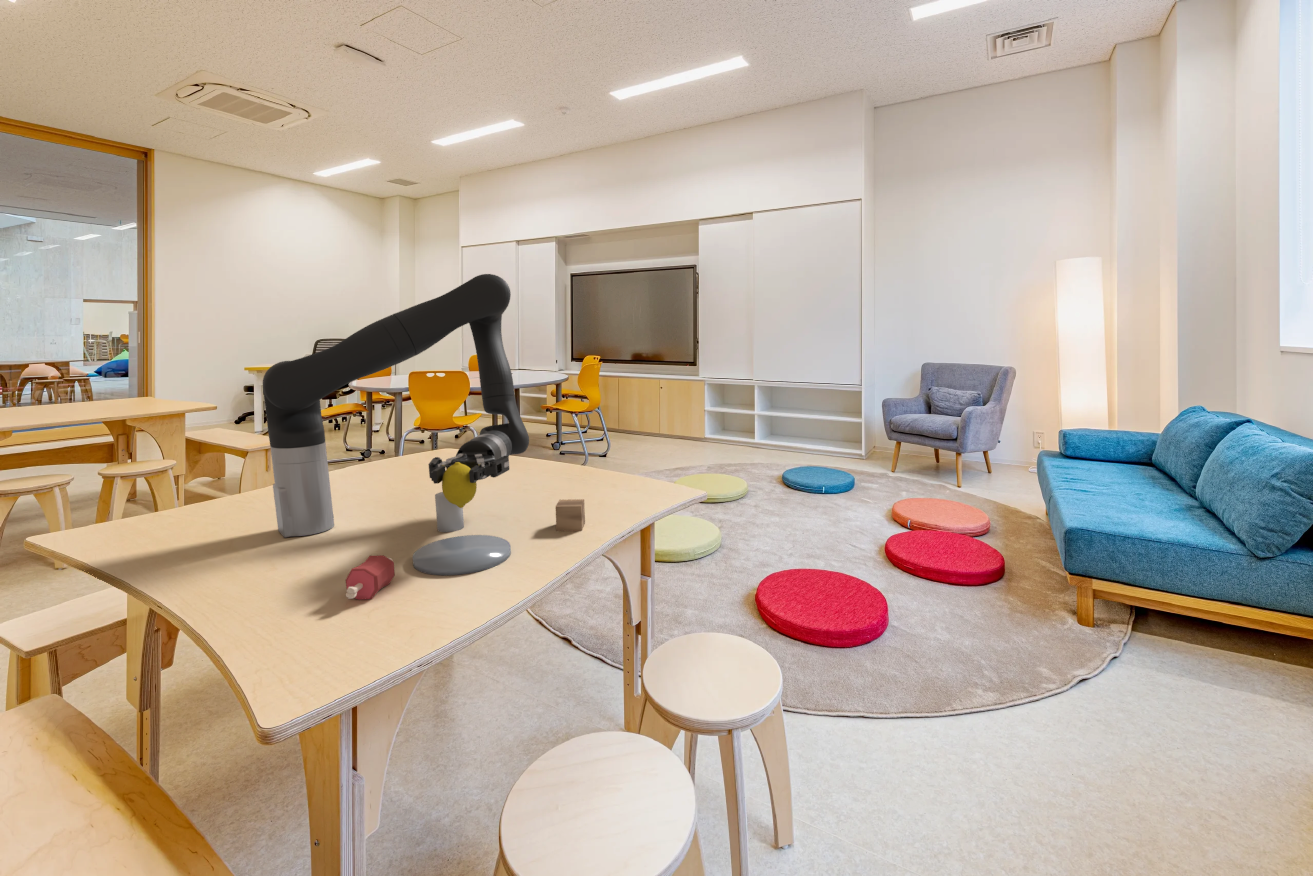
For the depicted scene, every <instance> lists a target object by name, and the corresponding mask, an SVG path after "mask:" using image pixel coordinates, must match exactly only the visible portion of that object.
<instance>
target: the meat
mask: <svg viewBox="0 0 1313 876" xmlns="http://www.w3.org/2000/svg"><path fill="white" fill-rule="evenodd" d="M395 575H396V573H395V563H394V560H393V558H391V557H387V556H385V555H384V554H383V555H380V554H379V555H378V554H377V555H369V556H368V557H367V558H366V560H365V561H364V562H362V563H361V564H360V565H358V566H356V567H352V568H351V570H350V571H349V573H348V575H347V577H346V578H345V586H346V587H345V588H346V593H345V597H346V598H347V599H348V600H351V599H356V600H359V601H360V600H373V599H374V597H375V595H376V594H377V593H378V592H379V591H381V589H383V588H384V587H385V588H386V587H387V586H389V585H390V583H391V582H392V580H393V579H394V577H395Z"/></svg>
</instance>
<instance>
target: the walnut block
mask: <svg viewBox="0 0 1313 876" xmlns="http://www.w3.org/2000/svg"><path fill="white" fill-rule="evenodd" d="M585 509H586V508H585V499H583V498H582V499H581V498H579V499H576V498H575V499H572V498H571V499H559V500H558V501H557V503H556V505H555V526H556V527H555V529H556V532H571V531H573V532H574V531H577V532H581V531H583V530H584V527H585V524H586V510H585Z"/></svg>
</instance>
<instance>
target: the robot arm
mask: <svg viewBox="0 0 1313 876" xmlns="http://www.w3.org/2000/svg"><path fill="white" fill-rule="evenodd" d="M510 301H511V288H510V285H509V284H508V283H507V282H506V280H505V279H504V278H503V277H500V276H499V275H496V274H492V273H484V274H483V273H482V274H479V275H476V276H474V277H472V278H471V279H469V280H468V281H465V282H464V283H462V284H461V285H458V286H457V287H455V288H453V289H452V290H450V291H448V292H446V293H444V294H442V295H440V296H438V297H435V298H432V299H430V300H429V299H428V300H427V301H426V300H425V301H424V302H421V303H418V304H416V305H413V306H411V307H408V308H405V309H404V310H400V311H398V312H395V313H393V314H390V315H388V316H385V317H383V318H381V319H378V320H376V321H374V322H372V323H370V324H368V325H366V326H365V327H363V328H361V329H359V330H358V331H355V332H354V333H353V334H351V335H349V336H348V337H346V338H344V339H343V340H341V341H340V342H339V343H336V344H334V345H333V346H331V347H329V348H326V349H324V350H321V351H318V352H316V353H312V354H310V355H306V356H303V357H300V358H296V359H292V360H284V361H283V360H282V361H279V362H277V363H275V364H273V365H271V366H270V367H269V368H268V369H267V370H266V371H265V372H264V373H265V374H264V375H263V378H262V390H263V392H262V393H263V398H264V400H263V401H264V406H265V415H266V424H267V432H268V440H269V446H270V447H269V448H270V456H271V463H272V470H273V471H272V472H273V480H274V483H273V484H272V490H273V498H274V507H275V515H276V521H277V531H278V532H279V533H280V534H281V535H282V536H283V538H289V537H301V536H310V535H314V534H315V535H316V534H319V533H323V532H326V531H328V530H331V529H332V528H333V527H335V519H334V508H333V500H332V499H333V498H332V491H331V481H330V472H329V462H328V454H327V445H326V434H325V427H324V422H323V421H324V420H323V416H322V408H321V399H323V398H326V397H327V396H329V395H330V394H332V393H334V392H335V391H337V390H339V389H340V388H342V387H344V386H345V385H347V384H349V383H352V382H355V380H358V379H362V378H365V377H368V376H371V375H373V374H375V373H379V372H381V371H385V370H386V369H389V368H390V367H391V368H392V367H393V366H396V365H398V364H401V363H403V362H406V361H407V360H409V359H411V358H414V357H416V356H418V355H420V354H421V353H422V354H423V352H425V351H427V350H428V349H430V348H431V347H433V346H434V345H436V344H438V343H439V342H440V341H442V340H443V339H445V338H446V337H447V336H448V335H449V334H451V333H453V332H454V331H455V330H457V329H460V327H463V326H465V325H467V324H469V327H470V331H471V335H472V338H473V341H474V347H475V353H476V359H477V360H476V361H477V368H478V375H479V384H480V391H481V392H480V393H481V398H482V400H481V401H482V406H483V410H484V412H485V413H486V414H490V415H497V416H498V415H500V416H501V415H502V416H504V417H505V418H506V419H507V422H506V423H501V424H494V425H489V426H484V427H483V428H481V430H480V432H479V435H476V436H475V437H473V438H471V439H470V440H468V441H466V442H464V444H462V445H461V446H460V447H459V448H458V450H457V451H456V455H454V456H451V457H449V458H446V459H445V461H444V460H443V458H441V457H438V456H436V457H433V458H432V459H431V460H430V462H429V463H428V473H429V479H431V481H432V483H433V484H435V485H436V484H440V483H442V479H443V475H444V472H445V471H446V470H447V469H448V468H449V467H450V466H452V465H454V464H455V462H460V463H461V464H464V465H466V466H468V467H469V468H470V471H469V477H470V483H475V482H476V483H477V482H478V481H480V480H485V479H487V478H488V477H490V478H497V477H499V476H501V475H503V474H505V473H507V472H509V471H510V456H513V455H514V456H515V455H519V454H523V453H525V452H526V451H527V449H528V447H529V445H530V437H529V436H530V435H529V433H528V431H527V429H526V426H525V424H524V422H523V420H522V417H521V414H520V411H519V409H518V405H517V401H516V395H515V394H516V393H515V388H514V387H515V386H514V380H513V375H512V369H511V367H510V363H509V360H508V357H507V355H506V352H505V348H504V343H503V337H502V336H503V335H502V319H503V315H504V313H505V311H506V310H507V309H508V307H509V304H510Z"/></svg>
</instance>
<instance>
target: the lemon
mask: <svg viewBox="0 0 1313 876" xmlns="http://www.w3.org/2000/svg"><path fill="white" fill-rule="evenodd" d="M469 471H470V468H469V467H468V466H466V465H464V464H461V463H460V462H455V464H454V465H452V466H450V467H449V468H448V469H445V472H444V475H443V479H442V481H441V489H442V492H443V494H444V496H445V498H446V499H447V500H448V501H449V502H450V503H452V504H455V505H457V506H458V507H459V508H463V509H464V507H465V506H466V504H469V503H470V502H471V501H472V500H473V499H474V498H475V496H476V492H477V481H476V482H475V483H470V477H469Z"/></svg>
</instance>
